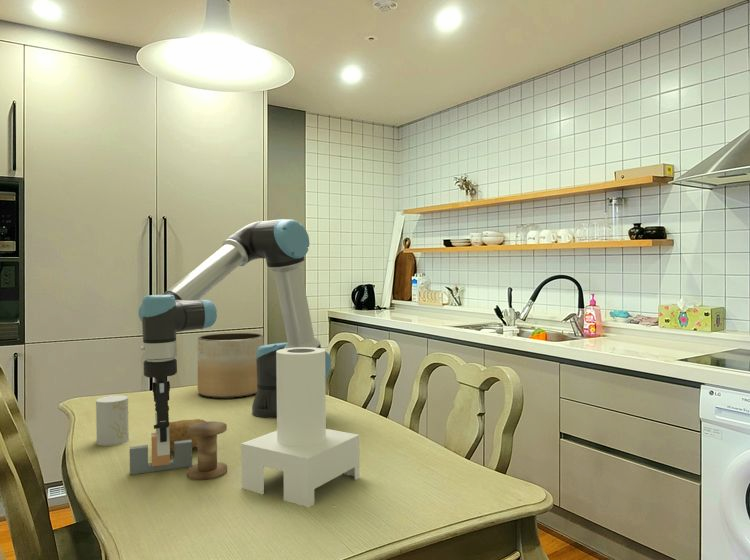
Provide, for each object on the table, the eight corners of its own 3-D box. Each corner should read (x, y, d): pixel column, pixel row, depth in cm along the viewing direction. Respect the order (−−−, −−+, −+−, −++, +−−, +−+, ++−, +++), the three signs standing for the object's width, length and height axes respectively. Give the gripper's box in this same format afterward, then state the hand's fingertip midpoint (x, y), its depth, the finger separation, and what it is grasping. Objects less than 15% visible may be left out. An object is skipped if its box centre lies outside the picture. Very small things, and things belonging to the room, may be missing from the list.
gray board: (191, 463, 138) (191, 439, 138) (192, 466, 137) (191, 441, 137) (130, 471, 133) (129, 446, 133) (129, 474, 131) (129, 449, 131)
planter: (185, 398, 208) (184, 339, 208) (215, 384, 233) (215, 332, 233) (249, 401, 204) (249, 340, 203) (273, 386, 229) (273, 332, 228)
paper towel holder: (308, 507, 113) (307, 360, 112) (241, 488, 123) (240, 353, 122) (359, 477, 129) (358, 348, 128) (296, 463, 139) (295, 343, 138)
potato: (216, 449, 149) (215, 419, 149) (161, 460, 141) (161, 428, 141) (204, 440, 157) (203, 412, 157) (151, 450, 149) (151, 420, 149)
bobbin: (224, 463, 138) (223, 419, 138) (229, 476, 130) (229, 429, 130) (186, 469, 135) (185, 423, 134) (189, 482, 126) (188, 434, 126)
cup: (116, 446, 152) (115, 402, 152) (90, 444, 154) (89, 401, 154) (134, 437, 160) (134, 396, 160) (109, 436, 162) (109, 395, 162)
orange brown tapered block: (169, 459, 137) (168, 431, 137) (169, 464, 134) (169, 435, 134) (151, 461, 136) (151, 433, 136) (151, 466, 132) (151, 437, 132)
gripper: (143, 352, 144) (145, 433, 145) (143, 369, 121) (146, 465, 122) (174, 350, 147) (176, 429, 148) (179, 366, 124) (182, 460, 125)
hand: (162, 446), depth 135 cm, fingers open, 13 cm apart
